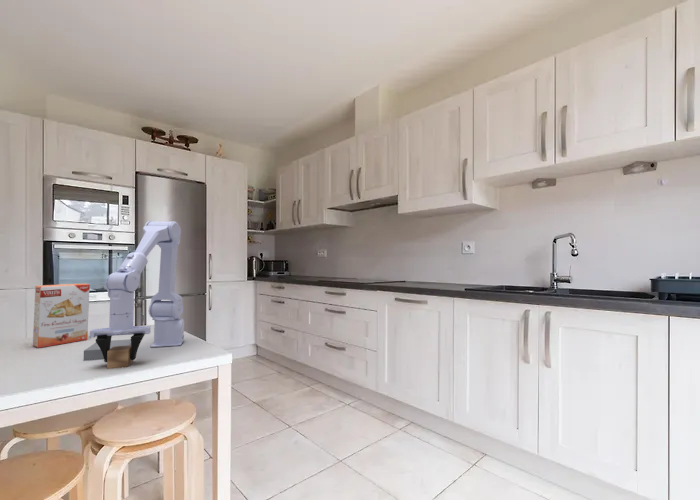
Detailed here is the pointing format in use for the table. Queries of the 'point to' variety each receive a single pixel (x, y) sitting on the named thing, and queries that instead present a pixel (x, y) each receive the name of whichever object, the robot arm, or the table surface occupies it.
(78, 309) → the cracker box
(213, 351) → the table surface
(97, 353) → the gray block
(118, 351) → the walnut cube
